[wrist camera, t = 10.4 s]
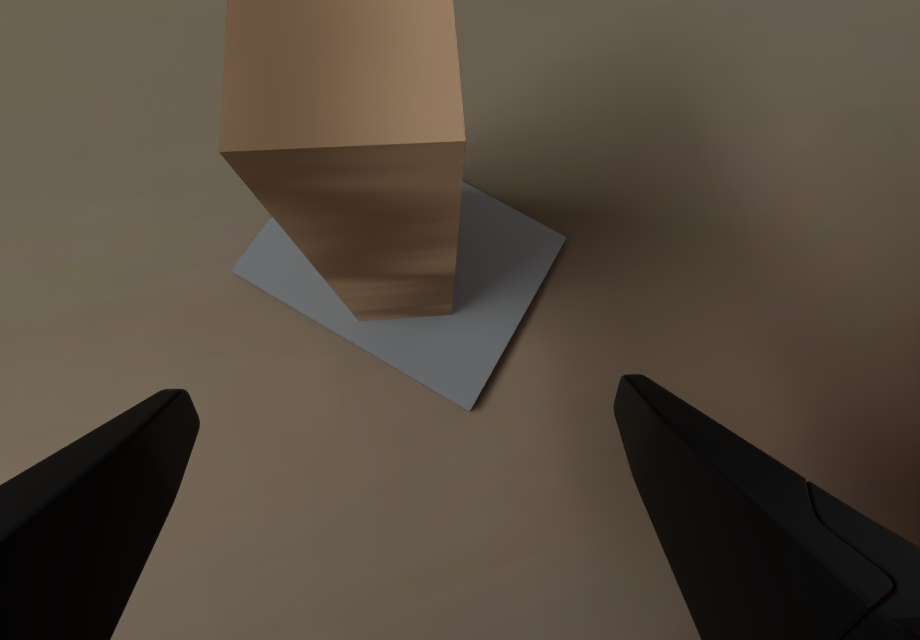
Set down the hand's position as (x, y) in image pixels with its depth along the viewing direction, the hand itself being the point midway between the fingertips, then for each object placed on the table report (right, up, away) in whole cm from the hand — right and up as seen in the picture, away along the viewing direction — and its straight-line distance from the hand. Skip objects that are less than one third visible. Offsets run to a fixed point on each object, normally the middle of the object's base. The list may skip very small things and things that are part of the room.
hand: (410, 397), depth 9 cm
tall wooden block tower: (-2, +5, +10) cm, 11 cm away
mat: (-2, +4, +11) cm, 12 cm away
